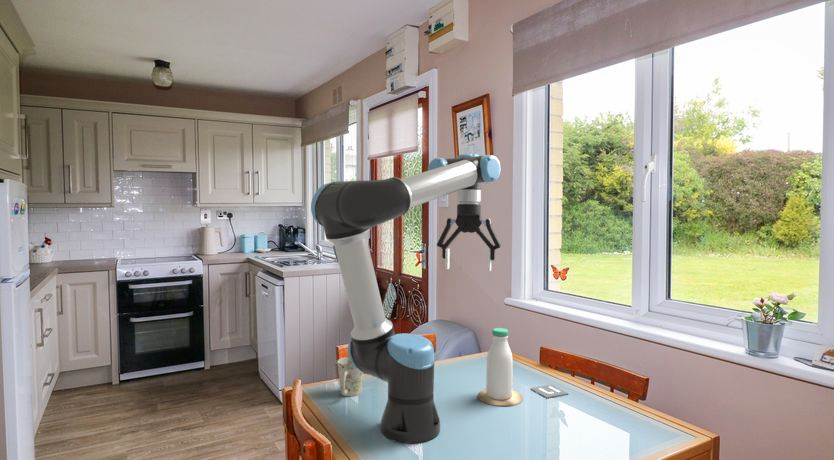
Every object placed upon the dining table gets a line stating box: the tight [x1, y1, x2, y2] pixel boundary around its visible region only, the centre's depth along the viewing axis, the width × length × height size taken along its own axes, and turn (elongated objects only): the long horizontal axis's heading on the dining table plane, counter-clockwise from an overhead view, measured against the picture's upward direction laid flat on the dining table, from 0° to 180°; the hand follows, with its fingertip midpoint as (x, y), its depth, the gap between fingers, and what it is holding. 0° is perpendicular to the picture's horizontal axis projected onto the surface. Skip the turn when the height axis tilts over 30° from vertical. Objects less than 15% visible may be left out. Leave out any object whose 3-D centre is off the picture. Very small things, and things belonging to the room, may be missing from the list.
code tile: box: [530, 384, 569, 399], centre depth 153 cm, size 8×8×1 cm
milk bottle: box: [485, 327, 514, 400], centre depth 147 cm, size 8×8×20 cm
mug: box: [336, 356, 365, 398], centre depth 148 cm, size 8×13×10 cm, turn 174°
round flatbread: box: [477, 388, 524, 407], centre depth 148 cm, size 13×13×1 cm
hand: (468, 269), depth 159 cm, fingers open, 13 cm apart
